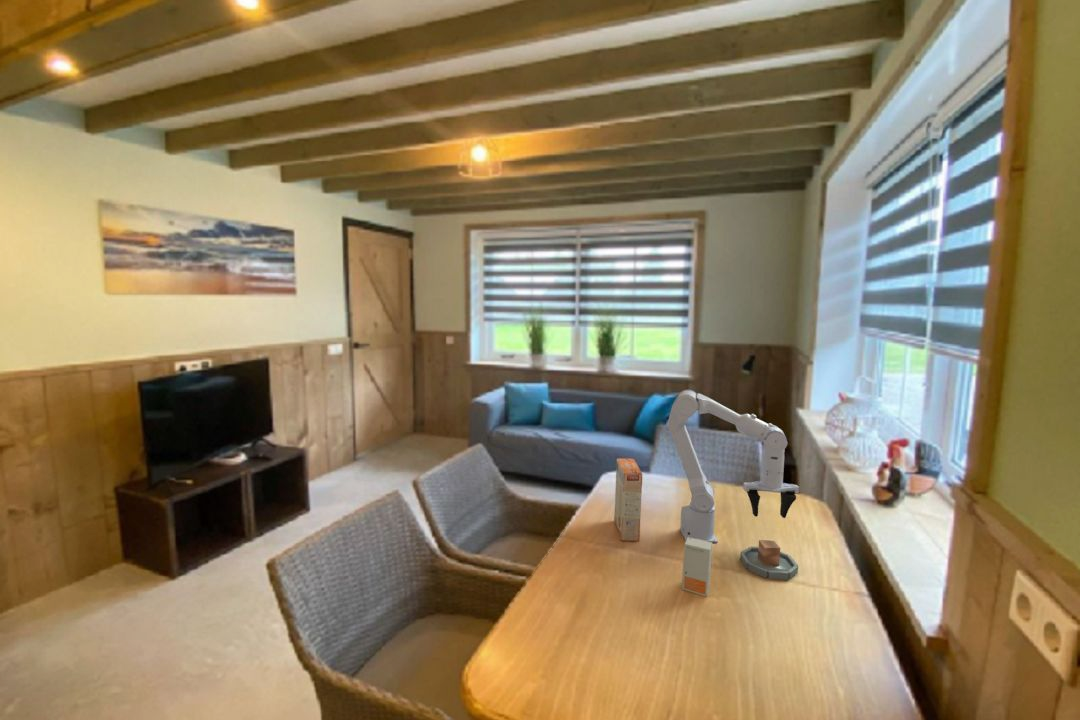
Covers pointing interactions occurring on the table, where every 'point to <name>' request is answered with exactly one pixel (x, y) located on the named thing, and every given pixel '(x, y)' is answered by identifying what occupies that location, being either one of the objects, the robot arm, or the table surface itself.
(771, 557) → the block
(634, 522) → the cracker box
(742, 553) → the dish
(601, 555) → the table surface
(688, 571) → the skincare box
